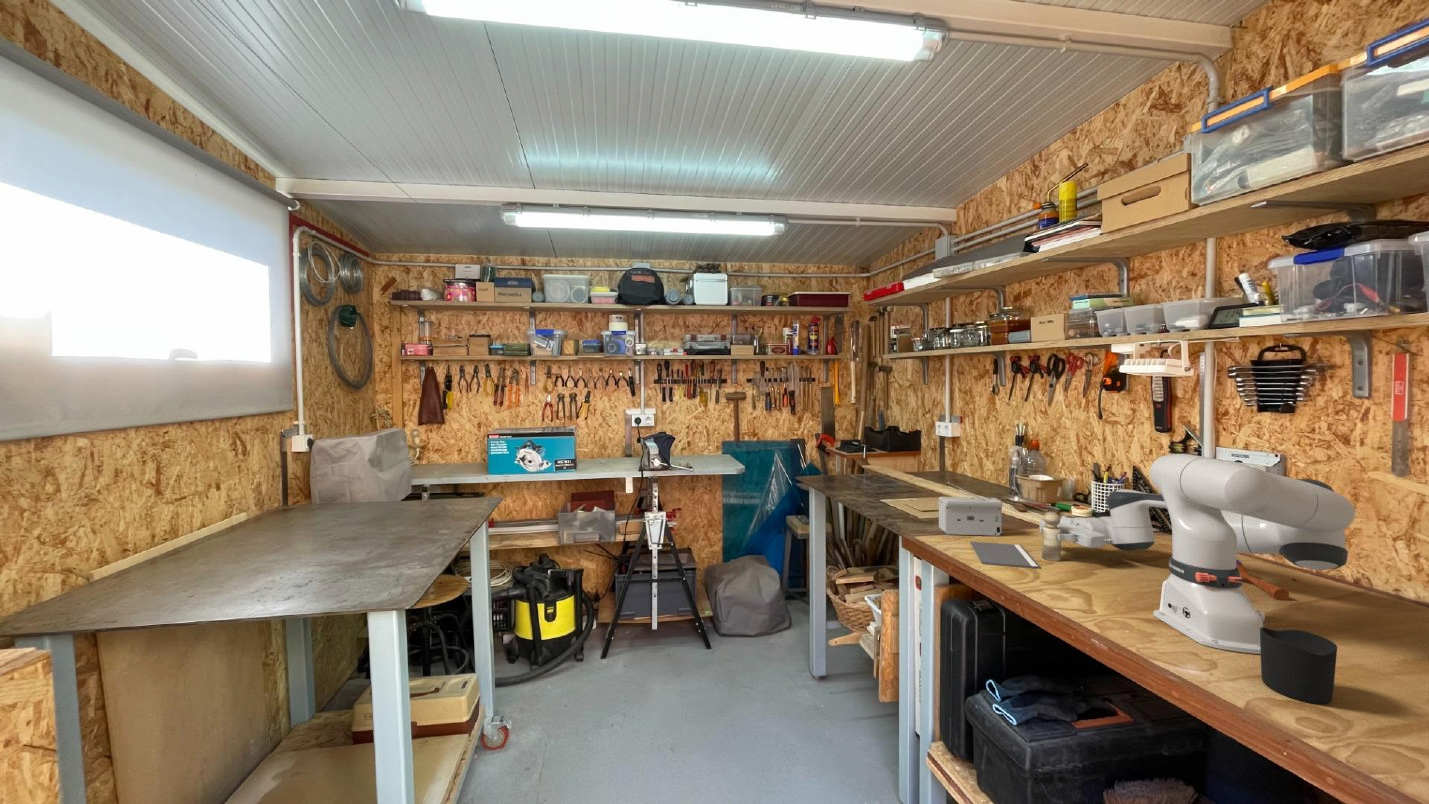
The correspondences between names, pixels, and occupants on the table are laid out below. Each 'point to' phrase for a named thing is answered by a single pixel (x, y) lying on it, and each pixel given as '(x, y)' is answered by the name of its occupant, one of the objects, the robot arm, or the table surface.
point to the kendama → (1263, 584)
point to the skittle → (1051, 537)
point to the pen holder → (1298, 664)
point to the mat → (1003, 555)
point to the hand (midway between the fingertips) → (1049, 534)
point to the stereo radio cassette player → (970, 515)
